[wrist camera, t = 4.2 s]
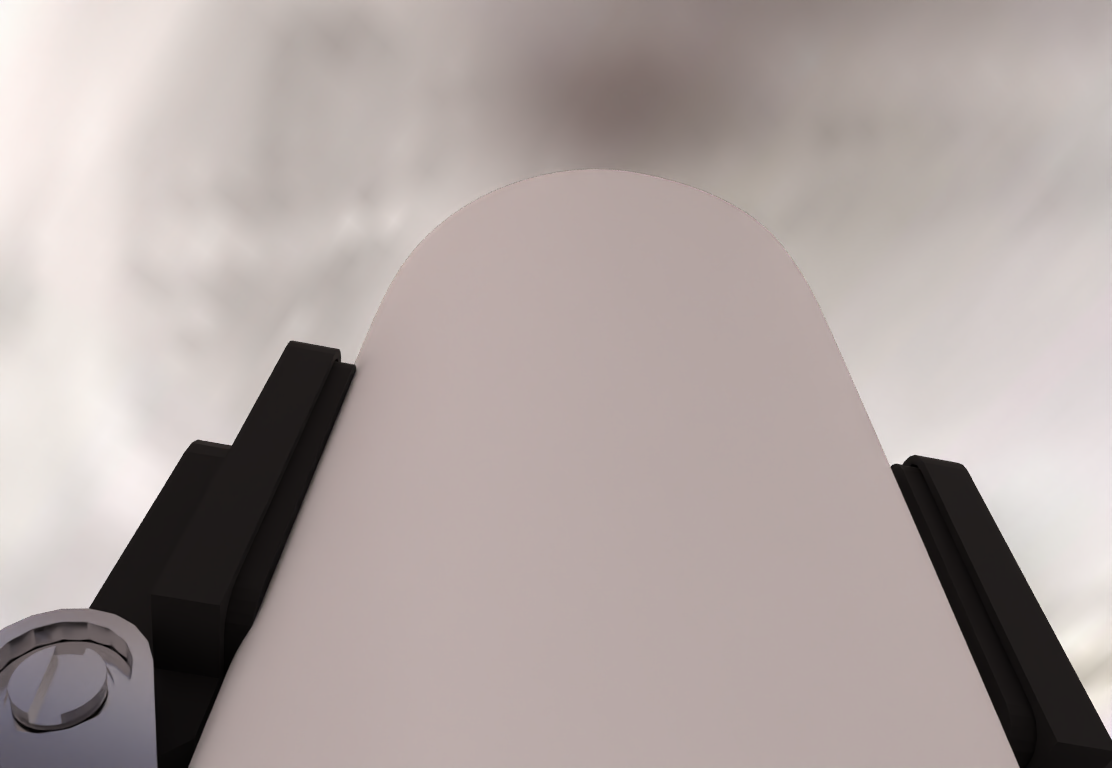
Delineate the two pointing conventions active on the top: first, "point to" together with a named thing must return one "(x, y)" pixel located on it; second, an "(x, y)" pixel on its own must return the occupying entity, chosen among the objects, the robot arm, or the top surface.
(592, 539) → the can
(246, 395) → the top surface
